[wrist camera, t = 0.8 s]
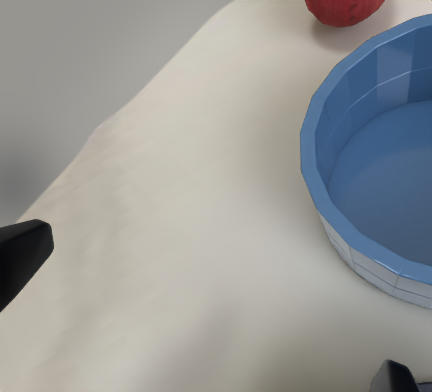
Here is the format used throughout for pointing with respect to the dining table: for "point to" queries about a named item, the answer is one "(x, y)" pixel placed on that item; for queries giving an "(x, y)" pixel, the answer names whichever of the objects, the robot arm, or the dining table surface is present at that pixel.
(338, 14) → the onion
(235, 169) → the dining table surface
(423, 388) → the lid
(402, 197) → the pot
